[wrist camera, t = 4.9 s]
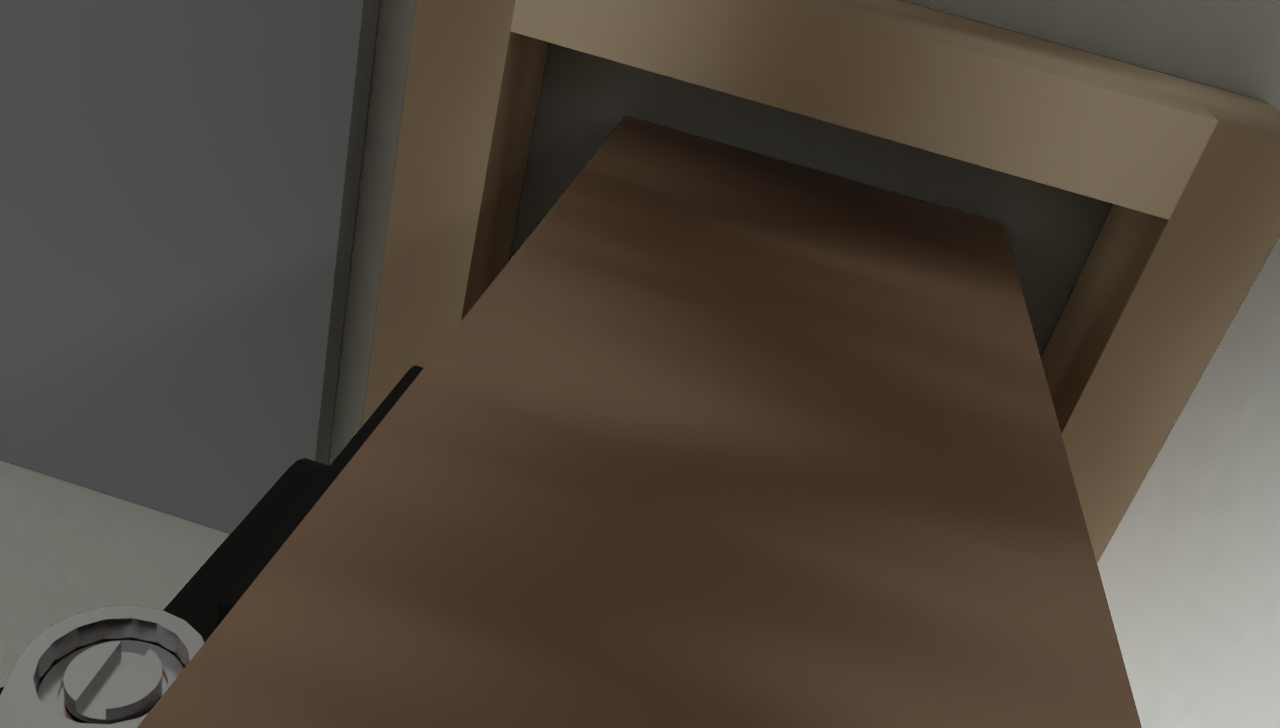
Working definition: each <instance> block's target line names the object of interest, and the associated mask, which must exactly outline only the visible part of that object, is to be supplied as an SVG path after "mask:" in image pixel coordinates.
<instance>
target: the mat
mask: <svg viewBox="0 0 1280 728" xmlns="http://www.w3.org/2000/svg"><path fill="white" fill-rule="evenodd" d="M379 5H380V0H0V460H1V461H4V462H7V463H10V464H14V465H17V466H20V467H23V468H26V469H29V470H32V471H35V472H39V473H42V474H45V475H48V476H51V477H54V478H57V479H60V480H64V481H67V482H70V483H73V484H76V485H79V486H82V487H85V488H89V489H92V490H95V491H98V492H101V493H104V494H107V495H110V496H113V497H117V498H120V499H123V500H126V501H129V502H132V503H135V504H138V505H142V506H145V507H148V508H151V509H154V510H157V511H160V512H163V513H167V514H170V515H173V516H176V517H179V518H182V519H185V520H188V521H192V522H195V523H198V524H201V525H204V526H207V527H210V528H213V529H217V530H220V531H223V532H226V533H229V534H231V533H232V532H233V531H234V530H235V528H236V527H237V526H238V525H239V524H240V523H241V522H242V520H243V519H244V518H245V517H246V516H247V515H248V514H249V513H250V511H251V510H252V509H253V508H254V507H255V506H256V505H257V503H258V502H259V501H260V500H261V499H262V498H263V497H264V496H265V494H266V493H267V492H268V491H269V490H270V489H271V488H272V486H273V485H274V484H275V483H276V482H277V481H278V480H279V478H280V477H281V476H282V475H283V474H284V473H285V472H286V471H287V469H288V468H289V467H290V466H291V465H293V464H294V463H295V462H296V461H297V460H299V459H303V458H307V459H310V460H313V461H316V462H319V463H323V464H326V465H328V459H329V450H330V441H331V432H332V423H333V414H334V405H335V396H336V388H337V379H338V370H339V361H340V352H341V343H342V334H343V325H344V316H345V308H346V299H347V290H348V281H349V272H350V263H351V254H352V245H353V236H354V228H355V219H356V210H357V201H358V192H359V183H360V174H361V165H362V156H363V147H364V139H365V130H366V121H367V112H368V103H369V94H370V85H371V76H372V67H373V59H374V50H375V41H376V32H377V23H378V14H379Z"/></svg>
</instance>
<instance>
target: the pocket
mask: <svg viewBox="0 0 1280 728" xmlns="http://www.w3.org/2000/svg"><path fill="white" fill-rule="evenodd" d="M550 43H553V44H556V45H560V46H563V47H567V48H570V49H574V50H577V51H581V52H584V53H588V54H591V55H595V56H598V57H602V58H605V59H609V60H612V61H616V62H619V63H623V64H626V65H630V66H633V67H637V68H640V69H644V70H647V71H651V72H654V73H658V74H661V75H665V76H668V77H672V78H675V79H679V80H682V81H686V82H689V83H693V84H696V85H700V86H703V87H707V88H710V89H714V90H717V91H721V92H724V93H728V94H731V95H735V96H738V97H742V98H745V99H749V100H752V101H756V102H759V103H762V104H766V105H769V106H773V107H776V108H780V109H783V110H787V111H790V112H794V113H797V114H801V115H804V116H808V117H811V118H815V119H818V120H822V121H825V122H829V123H832V124H836V125H839V126H843V127H846V128H850V129H853V130H857V131H860V132H864V133H867V134H871V135H874V136H878V137H881V138H885V139H888V140H892V141H895V142H899V143H902V144H906V145H909V146H913V147H916V148H920V149H923V150H927V151H930V152H934V153H937V154H941V155H944V156H948V157H951V158H955V159H958V160H962V161H965V162H969V163H972V164H976V165H979V166H983V167H986V168H990V169H993V170H997V171H1000V172H1004V173H1007V174H1011V175H1014V176H1018V177H1021V178H1025V179H1028V180H1032V181H1035V182H1039V183H1042V184H1046V185H1049V186H1053V187H1056V188H1060V189H1063V190H1067V191H1070V192H1074V193H1077V194H1081V195H1084V196H1088V197H1091V198H1095V199H1098V200H1102V201H1105V202H1109V203H1112V204H1113V206H1112V208H1111V210H1110V212H1109V214H1108V216H1107V218H1106V220H1105V223H1104V225H1103V227H1102V229H1101V231H1100V233H1099V235H1098V238H1097V240H1096V242H1095V244H1094V246H1093V248H1092V250H1091V252H1090V255H1089V257H1088V259H1087V261H1086V263H1085V265H1084V267H1083V269H1082V272H1081V274H1080V276H1079V278H1078V280H1077V282H1076V284H1075V286H1074V289H1073V291H1072V293H1071V295H1070V297H1069V299H1068V301H1067V303H1066V306H1065V308H1064V310H1063V312H1062V314H1061V316H1060V318H1059V321H1058V323H1057V325H1056V327H1055V329H1054V331H1053V333H1052V335H1051V338H1050V340H1049V342H1048V344H1047V346H1046V348H1045V350H1044V352H1043V355H1042V357H1041V361H1042V365H1043V368H1044V372H1045V376H1046V379H1047V383H1048V387H1049V390H1050V394H1051V398H1052V401H1053V405H1054V409H1055V412H1056V416H1057V420H1058V423H1059V427H1060V431H1061V434H1062V438H1063V442H1064V445H1065V449H1066V453H1067V456H1068V460H1069V464H1070V467H1071V471H1072V475H1073V478H1074V482H1075V486H1076V489H1077V493H1078V497H1079V500H1080V504H1081V508H1082V511H1083V515H1084V519H1085V522H1086V526H1087V530H1088V533H1089V537H1090V541H1091V544H1092V548H1093V552H1094V555H1095V559H1096V563H1098V561H1099V559H1100V557H1101V555H1102V554H1103V552H1104V550H1105V548H1106V546H1107V545H1108V543H1109V541H1110V539H1111V537H1112V536H1113V534H1114V532H1115V530H1116V528H1117V527H1118V525H1119V523H1120V521H1121V520H1122V518H1123V516H1124V514H1125V512H1126V511H1127V509H1128V507H1129V505H1130V503H1131V502H1132V500H1133V498H1134V496H1135V494H1136V493H1137V491H1138V489H1139V487H1140V485H1141V484H1142V482H1143V480H1144V478H1145V476H1146V475H1147V473H1148V471H1149V469H1150V467H1151V466H1152V464H1153V462H1154V460H1155V458H1156V457H1157V455H1158V453H1159V451H1160V449H1161V448H1162V446H1163V444H1164V442H1165V441H1166V439H1167V437H1168V435H1169V433H1170V432H1171V430H1172V428H1173V426H1174V424H1175V423H1176V421H1177V419H1178V417H1179V415H1180V414H1181V412H1182V410H1183V408H1184V406H1185V405H1186V403H1187V401H1188V399H1189V397H1190V396H1191V394H1192V392H1193V390H1194V388H1195V387H1196V385H1197V383H1198V381H1199V379H1200V378H1201V376H1202V374H1203V372H1204V370H1205V369H1206V367H1207V365H1208V363H1209V361H1210V360H1211V358H1212V356H1213V354H1214V353H1215V351H1216V349H1217V347H1218V345H1219V344H1220V342H1221V340H1222V338H1223V336H1224V335H1225V333H1226V331H1227V329H1228V327H1229V326H1230V324H1231V322H1232V320H1233V318H1234V317H1235V315H1236V313H1237V311H1238V309H1239V308H1240V306H1241V304H1242V302H1243V300H1244V299H1245V297H1246V295H1247V293H1248V291H1249V290H1250V288H1251V286H1252V284H1253V282H1254V281H1255V279H1256V277H1257V275H1258V274H1259V272H1260V270H1261V268H1262V266H1263V265H1264V263H1265V261H1266V259H1267V257H1268V256H1269V254H1270V252H1271V250H1272V248H1273V247H1274V245H1275V243H1276V241H1277V239H1278V238H1279V236H1280V112H1278V111H1277V110H1276V109H1275V108H1273V107H1272V106H1271V105H1270V104H1269V103H1267V102H1265V101H1261V100H1258V99H1254V98H1250V97H1247V96H1243V95H1240V94H1236V93H1232V92H1229V91H1225V90H1222V89H1218V88H1215V87H1211V86H1207V85H1204V84H1200V83H1197V82H1193V81H1189V80H1186V79H1182V78H1179V77H1175V76H1171V75H1168V74H1164V73H1161V72H1157V71H1153V70H1150V69H1146V68H1143V67H1139V66H1135V65H1132V64H1128V63H1125V62H1121V61H1117V60H1114V59H1110V58H1107V57H1103V56H1099V55H1096V54H1092V53H1089V52H1085V51H1081V50H1078V49H1074V48H1071V47H1067V46H1063V45H1060V44H1056V43H1053V42H1049V41H1045V40H1042V39H1038V38H1035V37H1031V36H1027V35H1024V34H1020V33H1017V32H1013V31H1009V30H1006V29H1002V28H999V27H995V26H991V25H988V24H984V23H981V22H977V21H973V20H970V19H966V18H963V17H959V16H955V15H952V14H948V13H945V12H941V11H937V10H934V9H930V8H927V7H923V6H919V5H916V4H912V3H909V2H905V1H901V0H416V6H415V14H414V22H413V30H412V37H411V45H410V53H409V61H408V69H407V76H406V84H405V92H404V100H403V108H402V116H401V123H400V131H399V139H398V147H397V155H396V162H395V170H394V178H393V186H392V194H391V201H390V209H389V217H388V225H387V233H386V240H385V248H384V256H383V264H382V272H381V279H380V287H379V295H378V303H377V311H376V318H375V326H374V334H373V342H372V350H371V358H370V365H369V373H368V381H367V389H366V397H365V404H364V412H363V420H362V426H363V425H364V424H365V422H366V421H367V420H368V419H369V418H370V416H371V415H372V414H373V413H374V411H375V410H376V409H377V408H378V407H379V405H380V404H381V403H382V402H383V401H384V399H385V398H386V397H387V396H388V394H389V393H390V392H391V391H392V390H393V388H394V387H395V386H396V385H397V384H398V382H399V381H400V380H401V379H402V377H403V376H404V375H405V374H406V373H407V371H408V370H409V369H410V368H411V367H412V366H415V365H417V366H420V367H423V368H424V367H425V366H426V365H427V364H428V362H429V361H430V360H431V359H432V357H433V356H434V355H435V354H436V352H437V351H438V350H439V349H440V347H441V346H442V345H443V344H444V342H445V341H446V340H447V339H448V337H449V336H450V335H451V334H452V332H453V331H454V330H455V329H456V327H457V326H458V325H459V324H460V322H461V321H462V320H463V318H464V317H465V316H466V315H467V313H468V312H469V311H470V310H471V308H472V307H473V306H474V305H475V303H476V302H477V301H478V300H479V298H480V297H481V296H482V295H483V293H484V292H485V291H486V290H487V288H488V287H489V286H490V285H491V283H492V282H493V281H494V280H495V278H496V277H497V276H498V275H499V273H500V272H501V271H502V270H503V268H504V267H505V266H506V265H507V263H508V260H509V255H510V250H511V244H512V239H513V234H514V229H515V223H516V218H517V213H518V207H519V202H520V197H521V192H522V186H523V181H524V176H525V170H526V165H527V160H528V155H529V149H530V144H531V139H532V133H533V128H534V123H535V118H536V112H537V107H538V102H539V96H540V91H541V86H542V81H543V75H544V70H545V65H546V59H547V54H548V49H549V44H550Z"/></svg>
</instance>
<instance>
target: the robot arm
mask: <svg viewBox="0 0 1280 728" xmlns="http://www.w3.org/2000/svg"><path fill="white" fill-rule="evenodd" d="M423 369H424V368H423V367H420V366H417V365H415V366H412V367H411V368H410V369H409V370H408V371H407V373H406V374H405V375H404V376H403V377H402V379H401V380H400V381H399V382H398V384H397V385H396V386H395V387H394V388H393V390H392V391H391V392H390V393H389V394H388V396H387V397H386V398H385V399H384V401H383V402H382V403H381V404H380V405H379V407H378V408H377V409H376V410H375V411H374V413H373V414H372V415H371V416H370V418H369V419H368V420H367V421H366V422H365V424H364V425H363V426H362V427H361V429H360V430H359V431H358V432H357V433H356V435H355V436H354V437H353V438H352V439H351V441H350V442H349V443H348V444H347V446H346V447H345V448H344V449H343V450H342V452H341V453H340V454H339V455H338V456H337V458H336V459H335V460H334V461H333V463H332V464H331V465H330V466H329V465H326V464H323V463H319V462H316V461H313V460H310V459H307V458H303V459H299V460H297V461H296V462H295V463H294V464H293V465H291V466H290V467H289V468H288V469H287V471H286V472H285V473H284V474H283V475H282V476H281V477H280V478H279V480H278V481H277V482H276V483H275V484H274V485H273V486H272V488H271V489H270V490H269V491H268V492H267V493H266V494H265V496H264V497H263V498H262V499H261V500H260V501H259V502H258V503H257V505H256V506H255V507H254V508H253V509H252V510H251V511H250V513H249V514H248V515H247V516H246V517H245V518H244V519H243V520H242V522H241V523H240V524H239V525H238V526H237V527H236V528H235V530H234V531H233V532H232V533H231V534H230V535H229V536H228V538H227V539H226V540H225V541H224V542H223V543H222V544H221V545H220V547H219V548H218V549H217V550H216V551H215V552H214V553H213V555H212V556H211V557H210V558H209V559H208V560H207V561H206V563H205V564H204V565H203V566H202V567H201V568H200V569H199V570H198V572H197V573H196V574H195V575H194V576H193V577H192V578H191V580H190V581H189V582H188V583H187V584H186V585H185V586H184V588H183V589H182V590H181V591H180V592H179V593H178V594H177V595H176V597H175V598H174V599H173V600H172V601H171V602H170V603H169V605H168V606H167V607H166V608H165V609H164V610H158V609H153V608H147V607H142V606H107V607H103V608H98V609H94V610H89V611H85V612H81V613H77V614H75V615H73V616H71V617H69V618H66V619H64V620H62V621H60V622H58V623H55V624H53V625H51V626H50V627H49V628H47V629H46V630H45V631H44V632H42V633H41V634H40V635H38V636H37V637H36V638H35V639H33V640H32V641H31V642H30V643H29V644H28V646H27V647H26V648H25V650H24V651H23V653H22V654H21V656H20V657H19V658H18V660H17V661H16V663H15V665H14V667H13V669H12V671H11V674H10V676H9V678H8V680H7V682H6V684H5V687H2V688H0V728H137V727H138V726H139V724H140V723H141V722H142V721H143V719H144V718H145V717H146V716H147V714H148V713H149V712H150V711H151V709H152V708H153V707H154V706H155V704H156V703H157V702H158V701H159V699H160V698H161V697H162V696H163V694H164V693H165V692H166V691H167V689H168V688H169V687H170V686H171V684H172V683H173V682H174V681H175V679H176V678H177V677H178V676H179V674H180V673H181V672H182V671H183V669H184V668H185V667H186V666H187V664H188V663H189V662H190V661H191V659H192V658H193V657H194V656H195V654H196V653H197V652H198V651H199V649H200V648H201V647H202V646H203V644H204V643H205V642H206V640H207V639H208V638H209V637H210V635H211V634H212V633H213V632H214V630H215V629H216V628H217V627H218V625H219V624H220V623H221V622H222V620H223V619H224V618H225V617H226V615H227V614H228V613H229V612H230V610H231V609H232V608H233V607H234V605H235V604H236V603H237V602H238V600H239V599H240V598H241V597H242V595H243V594H244V593H245V592H246V590H247V589H248V588H249V587H250V585H251V584H252V583H253V582H254V580H255V579H256V578H257V577H258V575H259V574H260V573H261V572H262V570H263V569H264V568H265V567H266V565H267V564H268V563H269V562H270V560H271V559H272V558H273V557H274V555H275V554H276V553H277V552H278V550H279V549H280V548H281V547H282V545H283V544H284V543H285V542H286V540H287V539H288V538H289V537H290V535H291V534H292V533H293V531H294V530H295V529H296V528H297V526H298V525H299V524H300V523H301V521H302V520H303V519H304V518H305V516H306V515H307V514H308V513H309V511H310V510H311V509H312V508H313V506H314V505H315V504H316V503H317V501H318V500H319V499H320V498H321V496H322V495H323V494H324V493H325V491H326V490H327V489H328V488H329V486H330V485H331V484H332V483H333V481H334V480H335V479H336V478H337V476H338V475H339V474H340V473H341V471H342V470H343V469H344V468H345V466H346V465H347V464H348V463H349V461H350V460H351V459H352V458H353V456H354V455H355V454H356V453H357V451H358V450H359V449H360V448H361V446H362V445H363V444H364V443H365V441H366V440H367V439H368V438H369V436H370V435H371V434H372V433H373V431H374V430H375V429H376V427H377V426H378V425H379V424H380V422H381V421H382V420H383V419H384V417H385V416H386V415H387V414H388V412H389V411H390V410H391V409H392V407H393V406H394V405H395V404H396V402H397V401H398V400H399V399H400V397H401V396H402V395H403V394H404V392H405V391H406V390H407V389H408V387H409V386H410V385H411V384H412V382H413V381H414V380H415V379H416V377H417V376H418V375H419V374H420V372H421V371H422V370H423Z"/></svg>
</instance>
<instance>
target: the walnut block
mask: <svg viewBox="0 0 1280 728" xmlns="http://www.w3.org/2000/svg"><path fill="white" fill-rule="evenodd" d="M137 728H1142V727H1141V724H1140V720H1139V716H1138V713H1137V709H1136V705H1135V702H1134V698H1133V694H1132V691H1131V687H1130V683H1129V680H1128V676H1127V673H1126V669H1125V665H1124V662H1123V658H1122V654H1121V651H1120V647H1119V643H1118V640H1117V636H1116V632H1115V629H1114V625H1113V621H1112V618H1111V614H1110V610H1109V607H1108V603H1107V599H1106V596H1105V592H1104V588H1103V585H1102V581H1101V577H1100V574H1099V570H1098V566H1097V563H1096V559H1095V555H1094V552H1093V548H1092V544H1091V541H1090V537H1089V533H1088V530H1087V526H1086V522H1085V519H1084V515H1083V511H1082V508H1081V504H1080V500H1079V497H1078V493H1077V489H1076V486H1075V482H1074V478H1073V475H1072V471H1071V467H1070V464H1069V460H1068V456H1067V453H1066V449H1065V445H1064V442H1063V438H1062V434H1061V431H1060V427H1059V423H1058V420H1057V416H1056V412H1055V409H1054V405H1053V401H1052V398H1051V394H1050V390H1049V387H1048V383H1047V379H1046V376H1045V372H1044V368H1043V365H1042V361H1041V357H1040V354H1039V350H1038V346H1037V343H1036V339H1035V335H1034V332H1033V328H1032V324H1031V321H1030V317H1029V313H1028V310H1027V306H1026V302H1025V299H1024V295H1023V291H1022V288H1021V284H1020V280H1019V277H1018V273H1017V269H1016V266H1015V262H1014V258H1013V255H1012V251H1011V247H1010V244H1009V240H1008V236H1007V233H1006V229H1005V226H1004V224H1001V223H998V222H994V221H991V220H987V219H984V218H980V217H977V216H973V215H970V214H966V213H963V212H959V211H956V210H952V209H949V208H945V207H942V206H938V205H935V204H931V203H928V202H925V201H921V200H918V199H914V198H911V197H907V196H904V195H900V194H897V193H893V192H890V191H886V190H883V189H879V188H876V187H872V186H869V185H865V184H862V183H858V182H855V181H851V180H848V179H845V178H841V177H838V176H834V175H831V174H827V173H824V172H820V171H817V170H813V169H810V168H806V167H803V166H799V165H796V164H792V163H789V162H785V161H782V160H778V159H775V158H771V157H768V156H765V155H761V154H758V153H754V152H751V151H747V150H744V149H740V148H737V147H733V146H730V145H726V144H723V143H719V142H716V141H712V140H709V139H705V138H702V137H698V136H695V135H691V134H688V133H685V132H681V131H678V130H674V129H671V128H667V127H664V126H660V125H657V124H653V123H650V122H646V121H643V120H639V119H636V118H632V117H629V116H625V117H624V118H623V119H622V121H621V122H620V123H619V124H618V126H617V127H616V128H615V129H614V131H613V132H612V133H611V134H610V136H609V137H608V138H607V139H606V141H605V142H604V143H603V144H602V146H601V147H600V148H599V149H598V151H597V152H596V153H595V154H594V156H593V157H592V158H591V159H590V161H589V162H588V163H587V164H586V166H585V167H584V168H583V169H582V171H581V172H580V173H579V174H578V176H577V177H576V178H575V179H574V181H573V182H572V183H571V184H570V186H569V187H568V188H567V189H566V191H565V192H564V193H563V194H562V196H561V197H560V198H559V199H558V201H557V202H556V203H555V204H554V206H553V207H552V208H551V209H550V211H549V212H548V213H547V215H546V216H545V217H544V218H543V220H542V221H541V222H540V223H539V225H538V226H537V227H536V228H535V230H534V231H533V232H532V233H531V235H530V236H529V237H528V238H527V240H526V241H525V242H524V243H523V245H522V246H521V247H520V248H519V250H518V251H517V252H516V253H515V255H514V256H513V257H512V258H511V260H510V261H509V262H508V263H507V265H506V266H505V267H504V268H503V270H502V271H501V272H500V273H499V275H498V276H497V277H496V278H495V280H494V281H493V282H492V283H491V285H490V286H489V287H488V288H487V290H486V291H485V292H484V293H483V295H482V296H481V297H480V298H479V300H478V301H477V302H476V303H475V305H474V306H473V307H472V308H471V310H470V311H469V312H468V313H467V315H466V316H465V317H464V318H463V320H462V321H461V322H460V324H459V325H458V326H457V327H456V329H455V330H454V331H453V332H452V334H451V335H450V336H449V337H448V339H447V340H446V341H445V342H444V344H443V345H442V346H441V347H440V349H439V350H438V351H437V352H436V354H435V355H434V356H433V357H432V359H431V360H430V361H429V362H428V364H427V365H426V366H425V367H424V369H423V370H422V371H421V372H420V374H419V375H418V376H417V377H416V379H415V380H414V381H413V382H412V384H411V385H410V386H409V387H408V389H407V390H406V391H405V392H404V394H403V395H402V396H401V397H400V399H399V400H398V401H397V402H396V404H395V405H394V406H393V407H392V409H391V410H390V411H389V412H388V414H387V415H386V416H385V417H384V419H383V420H382V421H381V422H380V424H379V425H378V426H377V427H376V429H375V430H374V431H373V433H372V434H371V435H370V436H369V438H368V439H367V440H366V441H365V443H364V444H363V445H362V446H361V448H360V449H359V450H358V451H357V453H356V454H355V455H354V456H353V458H352V459H351V460H350V461H349V463H348V464H347V465H346V466H345V468H344V469H343V470H342V471H341V473H340V474H339V475H338V476H337V478H336V479H335V480H334V481H333V483H332V484H331V485H330V486H329V488H328V489H327V490H326V491H325V493H324V494H323V495H322V496H321V498H320V499H319V500H318V501H317V503H316V504H315V505H314V506H313V508H312V509H311V510H310V511H309V513H308V514H307V515H306V516H305V518H304V519H303V520H302V521H301V523H300V524H299V525H298V526H297V528H296V529H295V530H294V531H293V533H292V534H291V535H290V537H289V538H288V539H287V540H286V542H285V543H284V544H283V545H282V547H281V548H280V549H279V550H278V552H277V553H276V554H275V555H274V557H273V558H272V559H271V560H270V562H269V563H268V564H267V565H266V567H265V568H264V569H263V570H262V572H261V573H260V574H259V575H258V577H257V578H256V579H255V580H254V582H253V583H252V584H251V585H250V587H249V588H248V589H247V590H246V592H245V593H244V594H243V595H242V597H241V598H240V599H239V600H238V602H237V603H236V604H235V605H234V607H233V608H232V609H231V610H230V612H229V613H228V614H227V615H226V617H225V618H224V619H223V620H222V622H221V623H220V624H219V625H218V627H217V628H216V629H215V630H214V632H213V633H212V634H211V635H210V637H209V638H208V639H207V640H206V642H205V643H204V644H203V646H202V647H201V648H200V649H199V651H198V652H197V653H196V654H195V656H194V657H193V658H192V659H191V661H190V662H189V663H188V664H187V666H186V667H185V668H184V669H183V671H182V672H181V673H180V674H179V676H178V677H177V678H176V679H175V681H174V682H173V683H172V684H171V686H170V687H169V688H168V689H167V691H166V692H165V693H164V694H163V696H162V697H161V698H160V699H159V701H158V702H157V703H156V704H155V706H154V707H153V708H152V709H151V711H150V712H149V713H148V714H147V716H146V717H145V718H144V719H143V721H142V722H141V723H140V724H139V726H138V727H137Z"/></svg>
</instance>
